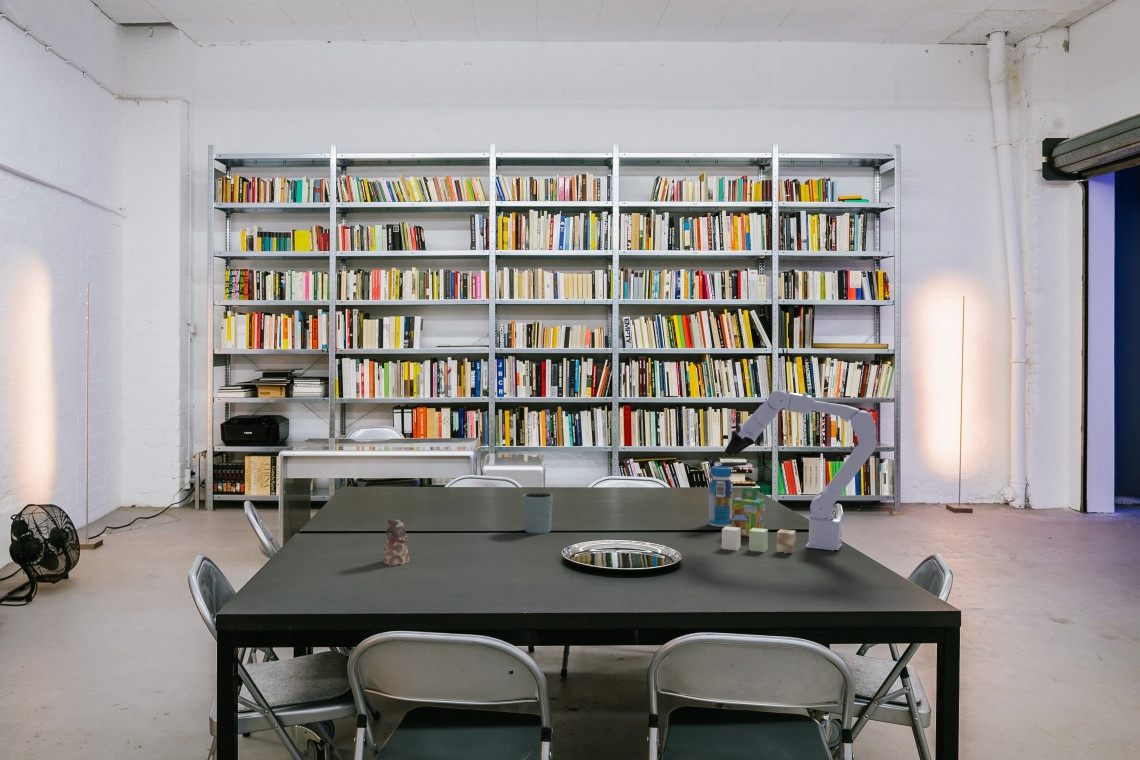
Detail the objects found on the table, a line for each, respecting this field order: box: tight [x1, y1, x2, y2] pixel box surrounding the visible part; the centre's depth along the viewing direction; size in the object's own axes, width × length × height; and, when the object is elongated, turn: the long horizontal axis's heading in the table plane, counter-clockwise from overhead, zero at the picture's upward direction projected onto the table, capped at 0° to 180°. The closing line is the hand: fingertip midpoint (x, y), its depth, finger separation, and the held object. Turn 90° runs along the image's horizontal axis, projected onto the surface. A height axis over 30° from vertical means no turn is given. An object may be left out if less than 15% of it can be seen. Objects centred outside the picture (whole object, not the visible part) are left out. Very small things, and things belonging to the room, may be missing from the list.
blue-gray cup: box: [522, 492, 554, 534], centre depth 254 cm, size 10×10×12 cm
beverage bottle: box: [708, 465, 734, 528], centre depth 264 cm, size 8×8×20 cm
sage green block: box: [748, 528, 769, 553], centre depth 230 cm, size 4×4×6 cm
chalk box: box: [730, 487, 767, 538], centre depth 250 cm, size 9×9×15 cm
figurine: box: [382, 518, 410, 566], centre depth 214 cm, size 7×7×12 cm
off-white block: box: [721, 526, 742, 551], centre depth 232 cm, size 4×4×6 cm
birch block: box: [776, 528, 797, 554], centre depth 228 cm, size 4×4×6 cm
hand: (730, 453), depth 243 cm, fingers open, 7 cm apart
